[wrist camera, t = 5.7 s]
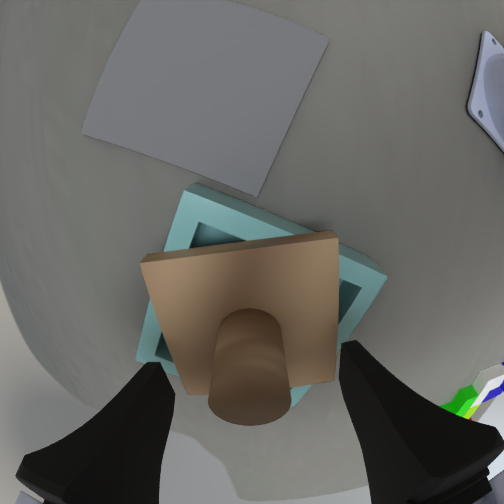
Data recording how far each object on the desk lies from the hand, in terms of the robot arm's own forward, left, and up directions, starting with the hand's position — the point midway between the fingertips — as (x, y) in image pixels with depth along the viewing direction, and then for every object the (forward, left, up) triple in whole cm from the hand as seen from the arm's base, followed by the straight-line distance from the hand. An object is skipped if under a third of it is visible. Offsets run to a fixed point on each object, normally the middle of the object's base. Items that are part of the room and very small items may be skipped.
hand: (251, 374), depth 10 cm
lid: (0, 0, -3) cm, 3 cm away
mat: (+7, -10, -6) cm, 13 cm away
